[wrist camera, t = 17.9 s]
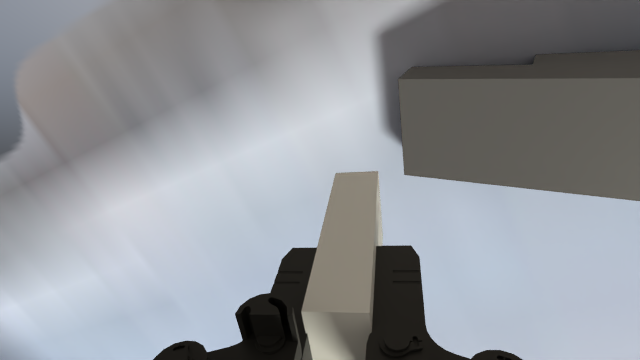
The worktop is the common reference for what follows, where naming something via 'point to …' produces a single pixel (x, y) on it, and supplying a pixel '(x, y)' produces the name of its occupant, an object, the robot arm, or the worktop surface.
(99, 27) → the worktop surface
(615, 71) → the domino
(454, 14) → the worktop surface
